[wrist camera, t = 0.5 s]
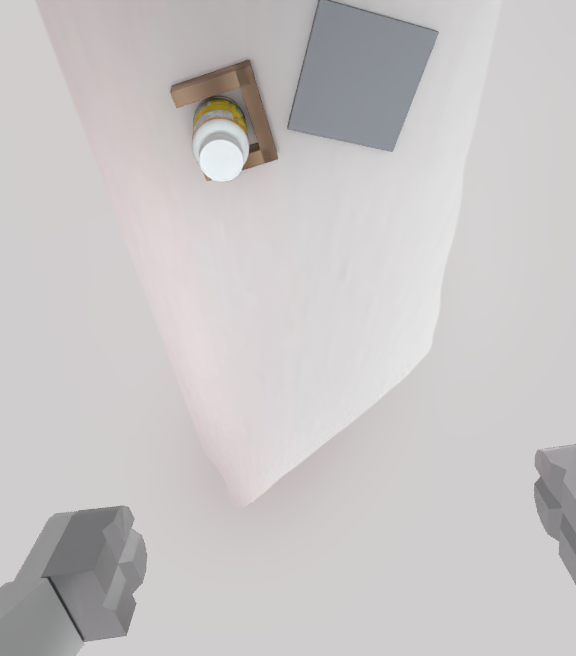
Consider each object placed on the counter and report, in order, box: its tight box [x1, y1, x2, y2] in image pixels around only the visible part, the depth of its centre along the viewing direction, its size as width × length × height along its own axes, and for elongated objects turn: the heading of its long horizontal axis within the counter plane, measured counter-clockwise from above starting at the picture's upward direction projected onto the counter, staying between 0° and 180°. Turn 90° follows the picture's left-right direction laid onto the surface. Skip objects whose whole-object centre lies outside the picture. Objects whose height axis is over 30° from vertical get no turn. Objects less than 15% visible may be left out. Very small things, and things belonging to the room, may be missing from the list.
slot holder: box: [170, 60, 278, 181], centre depth 53 cm, size 8×10×2 cm
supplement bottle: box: [192, 97, 249, 182], centre depth 50 cm, size 5×5×10 cm
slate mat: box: [287, 0, 439, 152], centre depth 52 cm, size 12×12×1 cm
